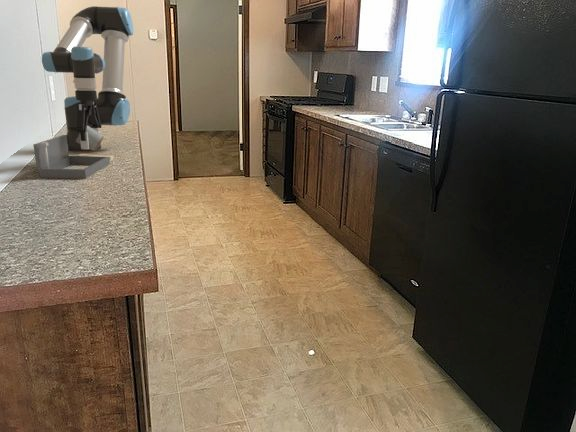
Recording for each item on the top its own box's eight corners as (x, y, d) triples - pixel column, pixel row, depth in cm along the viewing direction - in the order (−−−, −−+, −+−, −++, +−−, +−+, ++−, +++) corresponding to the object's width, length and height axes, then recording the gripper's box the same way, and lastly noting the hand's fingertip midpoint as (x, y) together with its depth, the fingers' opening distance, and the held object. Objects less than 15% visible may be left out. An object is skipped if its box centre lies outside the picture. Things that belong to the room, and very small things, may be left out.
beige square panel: (81, 156, 193) (81, 153, 193) (116, 157, 194) (115, 154, 194) (67, 163, 180) (67, 160, 180) (104, 163, 181) (104, 160, 180)
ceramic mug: (94, 155, 184) (102, 141, 180) (73, 145, 180) (81, 130, 177) (101, 142, 192) (109, 128, 188) (81, 131, 189) (89, 117, 185)
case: (67, 163, 179) (64, 133, 176) (110, 164, 180) (107, 134, 176) (37, 177, 156) (32, 143, 153) (85, 178, 157) (82, 144, 153)
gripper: (87, 88, 190) (92, 142, 197) (62, 90, 167) (68, 151, 174) (106, 88, 190) (110, 142, 197) (83, 91, 168) (89, 151, 174)
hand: (91, 146), depth 185 cm, fingers closed on ceramic mug, 12 cm apart
